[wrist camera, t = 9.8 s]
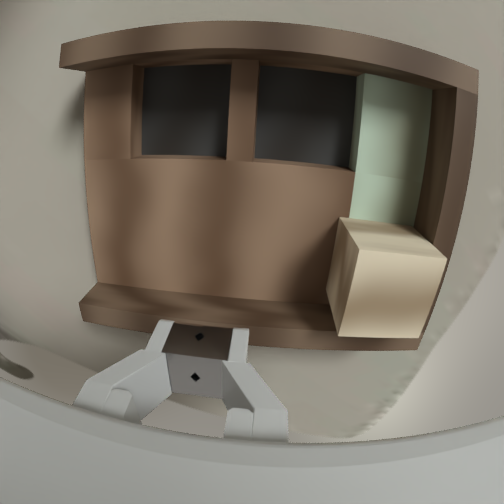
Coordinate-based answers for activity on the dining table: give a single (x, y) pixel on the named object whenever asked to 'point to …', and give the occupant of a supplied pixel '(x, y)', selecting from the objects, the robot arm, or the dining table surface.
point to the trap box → (260, 169)
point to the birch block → (382, 279)
